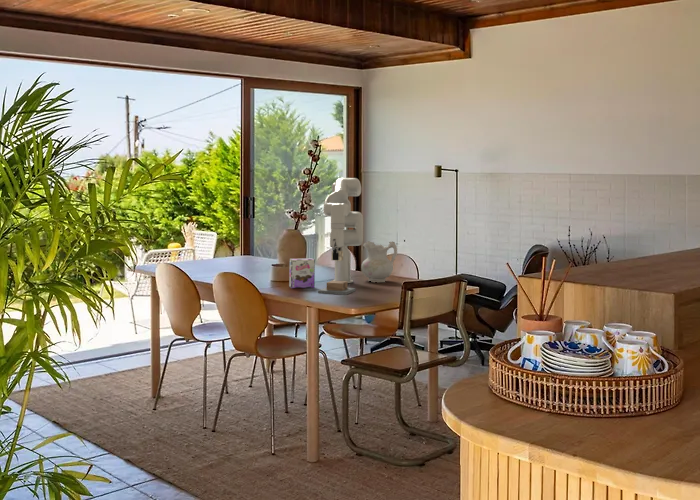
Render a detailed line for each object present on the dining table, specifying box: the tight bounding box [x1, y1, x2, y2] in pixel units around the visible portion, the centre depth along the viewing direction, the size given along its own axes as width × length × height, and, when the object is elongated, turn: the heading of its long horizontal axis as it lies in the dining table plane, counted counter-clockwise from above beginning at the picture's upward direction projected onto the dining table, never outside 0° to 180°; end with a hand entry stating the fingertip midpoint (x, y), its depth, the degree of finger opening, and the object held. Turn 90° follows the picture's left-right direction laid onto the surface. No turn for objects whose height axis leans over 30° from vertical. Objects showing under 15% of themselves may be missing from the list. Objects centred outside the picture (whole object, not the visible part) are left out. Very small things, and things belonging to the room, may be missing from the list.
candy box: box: [288, 257, 316, 289], centre depth 479 cm, size 14×6×16 cm, turn 105°
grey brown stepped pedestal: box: [317, 280, 356, 295], centre depth 462 cm, size 16×16×6 cm
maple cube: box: [331, 251, 343, 262], centre depth 460 cm, size 5×5×5 cm
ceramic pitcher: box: [361, 241, 398, 283], centre depth 509 cm, size 22×20×25 cm
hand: (337, 259), depth 460 cm, fingers closed on maple cube, 5 cm apart
